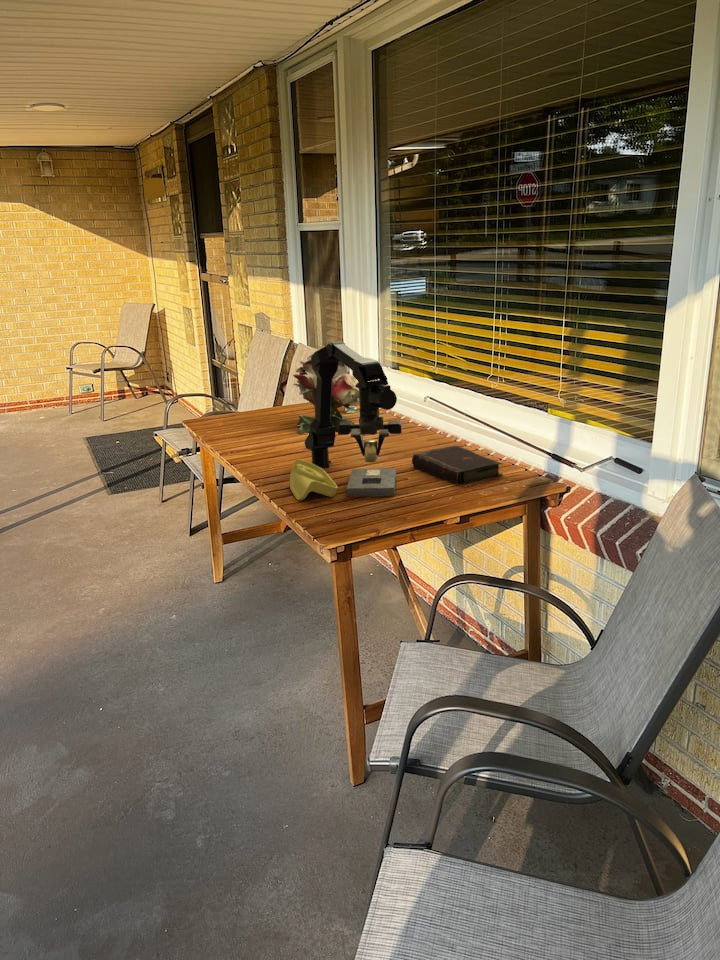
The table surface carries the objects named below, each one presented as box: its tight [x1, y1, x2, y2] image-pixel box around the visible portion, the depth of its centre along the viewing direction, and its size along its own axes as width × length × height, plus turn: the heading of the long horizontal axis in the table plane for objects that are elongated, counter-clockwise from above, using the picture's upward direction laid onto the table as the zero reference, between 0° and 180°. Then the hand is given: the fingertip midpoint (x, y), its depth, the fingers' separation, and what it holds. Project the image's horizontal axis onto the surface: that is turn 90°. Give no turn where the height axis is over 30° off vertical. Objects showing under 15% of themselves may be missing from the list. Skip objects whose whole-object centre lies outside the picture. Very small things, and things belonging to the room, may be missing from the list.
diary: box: [411, 445, 504, 487], centre depth 234 cm, size 19×25×5 cm
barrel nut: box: [363, 438, 379, 463], centre depth 217 cm, size 4×4×6 cm
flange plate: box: [346, 467, 397, 497], centre depth 223 cm, size 20×14×3 cm
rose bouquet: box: [293, 354, 360, 434], centre depth 297 cm, size 26×29×30 cm
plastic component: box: [289, 458, 339, 501], centre depth 221 cm, size 20×8×10 cm
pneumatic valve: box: [343, 398, 359, 414], centre depth 322 cm, size 6×12×12 cm, turn 101°
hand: (370, 455), depth 217 cm, fingers closed on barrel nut, 4 cm apart
